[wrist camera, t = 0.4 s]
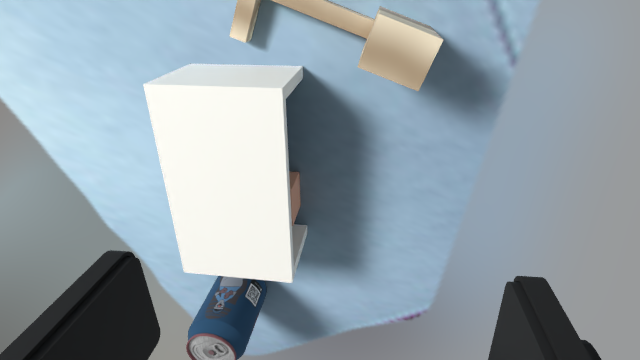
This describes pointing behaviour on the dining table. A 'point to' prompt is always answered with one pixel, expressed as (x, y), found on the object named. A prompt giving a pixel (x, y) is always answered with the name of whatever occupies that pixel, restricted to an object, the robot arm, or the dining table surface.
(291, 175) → the block
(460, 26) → the dining table surface
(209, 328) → the soda can
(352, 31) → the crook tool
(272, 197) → the shelf cubby
